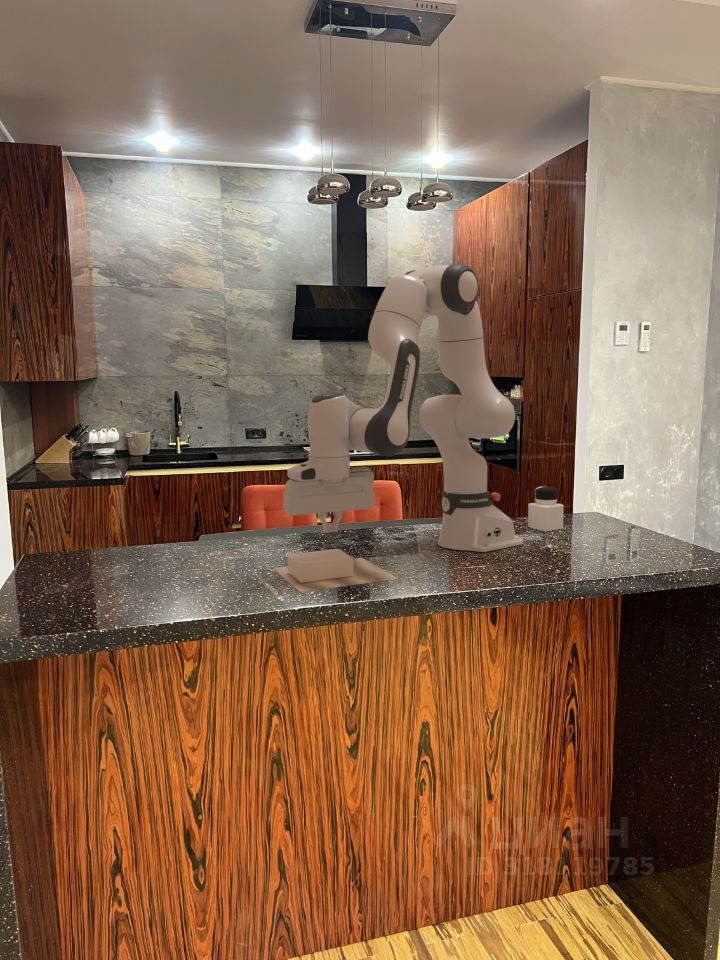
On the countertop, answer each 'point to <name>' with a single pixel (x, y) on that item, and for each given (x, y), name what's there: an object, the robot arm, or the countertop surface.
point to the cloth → (361, 571)
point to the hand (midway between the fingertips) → (330, 532)
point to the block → (320, 565)
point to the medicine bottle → (545, 510)
